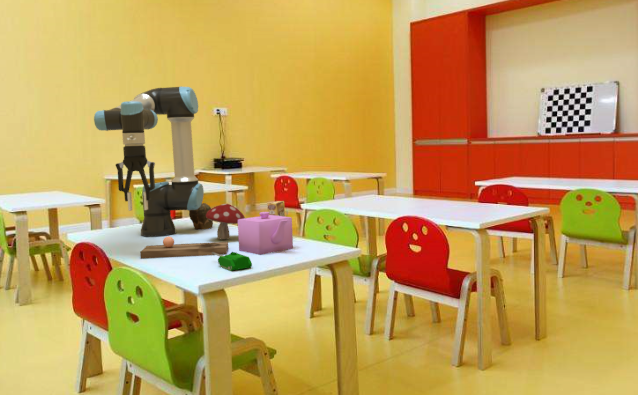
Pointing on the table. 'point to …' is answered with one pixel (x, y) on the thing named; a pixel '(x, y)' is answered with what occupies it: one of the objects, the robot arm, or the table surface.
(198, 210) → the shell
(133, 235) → the table surface
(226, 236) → the decorative mushroom
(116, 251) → the table surface
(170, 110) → the robot arm
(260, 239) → the teapot
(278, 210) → the candy box
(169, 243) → the coral ball
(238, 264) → the toy tank
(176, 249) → the walnut board
